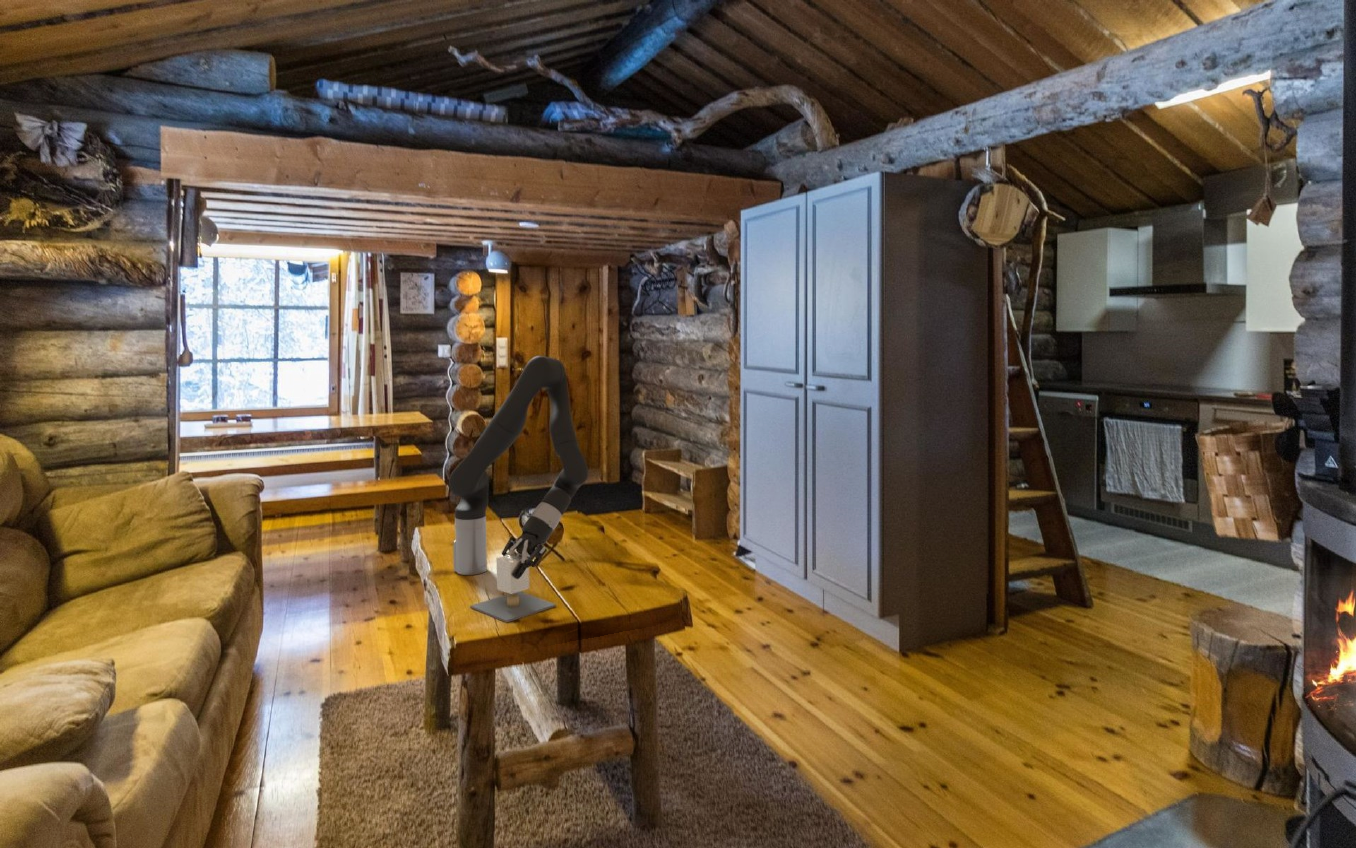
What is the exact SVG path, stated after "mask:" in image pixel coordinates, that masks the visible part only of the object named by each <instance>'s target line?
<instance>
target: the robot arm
mask: <svg viewBox="0 0 1356 848" xmlns="http://www.w3.org/2000/svg"><path fill="white" fill-rule="evenodd" d="M565 368H566V367H565V365H564V363H562V362H561V360H559V359H556V358H553V357H550V356H544V355H536V356H534V357H532V358H531V359H530V360H529V361H528V362H527V364H525V366H524V368H523V370H522V372H521V373H520V376H519V377H518V378H517V381H516V383H515V385H514V386H513V388H512V389H511V391H510V392H509V394H508V396H507V397H506V398H505V400H504V401H503V403H502V405H501V406H500V407H499V409H498V410H497V411H496V412H495V414H494V415H493V417H492V418H491V420H490V421H489V422H488V424H487V426H486V427H485V428H484V431H482V432H481V434H480V435H479V437H478V438H477V441H476V442H475V444H474V445H473V447H472V448H471V449H470V451H469V452H468V453H467V455H465V457H464V458H463V459H462V460H461V462H460V463H459V464H458V465H457V466H456V467H455V468H454V470H453V471H452V472H451V474H450V476H449V480H448V486H449V490H450V491H451V493H452V494H453V495H454V496H457V497H460V500H459V503H458V504H457V506H456V507H455V509H454V530H455V533H454V534H455V535H454V536H455V540H453V542H452V550H453V552H452V553H453V572H456V574H459V575H464V576H474V575H480V574H483V573H485V572H487V570H488V554H487V552H488V549H487V545H488V544H487V509H488V505H489V487H490V486H489V483H490V482H489V475H488V472H487V470H488V469H489V467H490V466H491V465H492V464H493V463H494V461H496V460H497V459H498V458H500V457H501V456H503V454H504V453H505V452H506V451H507V450H508V449H510V447H511V446H512V445H513V444H514V443H515V441H516V440H517V438H518V437H519V436H520V434H521V433H522V431H523V430H524V428H525V426H526V421H527V417H528V410H529V408H530V404H531V403H532V401H533V400H534V398H535V397H536V396H537V394H538V393H539V391H541V390H542V389H545V390H546V392H547V395H548V398H549V402H550V419H549V434H550V439H551V442H552V446H553V450H554V453H555V455H556V456H557V457H558V458H559V459H560V462H561V465H562V470H560V473H559V474H558V475H557V477H556V478H555V481H554V482H553V484H552V486H551V488H550V489H549V490H548V491H547V492H546V494H545V496H544V497H543V498H542V500H541V502H540V503H539V504H538V505H537V506H536V507H535V508H534V510H533V511H532V513H531V514H530V516H529V517H528V518H527V520H526V522H525V523H524V524H523V526H522V528H521V531H522V533H521V535H520V536H518V537H514V536H513V535H510V537H509V538H508V541H507V542H506V544H505V546H504V548H503V550H502V551H501V555H502V557H503V556H507V555H512V554H519V555H522V556H523V557H522V560H521V563H520V564H519V565H518V567H517V568H516V570H515V571H514V573H513V576H514V577H515V578H516V579H519V578H520V577H521V576H522V575H523V573H524V571H525V570H526V568H529V569H530V567H532V568H534V567H536V565H537V564H538V563H539V561H540V560H541V559H542V558H543V556H544V555H545V554H546V553H547V552H548V549H547V548H546V547H545V546H544V545H545V544H546V543H547V541H548V540H549V538H550V537H551V535H552V534H553V532H554V531H555V529H556V528H557V526H558V525H559V523H560V520H561V519H562V517H563V515H564V514H565V512H566V511H567V509H568V508H569V505H570V504H571V501H572V498H574V495H575V494H576V493H577V492H578V490H579V489H580V488H581V486H582V485H584V484H585V482H586V481H587V480H588V477H589V468H588V464H587V461H586V459H585V456H584V454H583V452H582V451H581V449H580V447H579V446H580V445H579V442H578V437H577V435H576V430H575V428H574V427H575V426H574V423H573V418H572V415H571V414H572V413H571V406H570V398H569V397H570V396H569V390H568V389H569V388H568V379H567V378H568V377H567V372H566V369H565ZM527 558H528V559H527ZM526 559H527V560H526Z"/></svg>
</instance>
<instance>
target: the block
mask: <svg viewBox="0 0 1356 848" xmlns="http://www.w3.org/2000/svg"><path fill="white" fill-rule="evenodd" d="M522 557H523V556H522V555H519V554H512V555H507V556H503V555H502V556H499V557H496V561H495V562H496V582H497V583H496V587H497V589H496V590H499V591H501V592H504V593H507V594H513V593H516V592H519V591H521V592H523V591H525V590H526V591H527V590H528V589H530V567H529V568H526V570H525V571H524V573H523V575H522V576H521V577H520V578H519V579H516V578H515V577H514V576H513V573H514V571H515V570H516V568H517V567H518V565H519V564H520V563H521V560H522ZM527 559H528V558H527ZM527 559H526V560H527Z"/></svg>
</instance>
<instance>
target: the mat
mask: <svg viewBox="0 0 1356 848" xmlns="http://www.w3.org/2000/svg"><path fill="white" fill-rule="evenodd" d="M555 607H557V604H556V603H554V602H551V601H548V600H545V599H542V598H539V597H537V596H535V595H531V594H530V593H529V594H528V593H526V592H523V591H519V592H516V593H513V594H509V593H507V594H505V595H501V596H498V597H495V598H492V599H489V600H484V601H482V602H478V603H474V604H472V605H470V609H473V610H475V611H478V612H480V613H482V614H484V615H486V616H489V617H492V618H495V619H496V620H499V621H501V622H504V623H507V624H508V623H509V622H513V621H516V620H519V619H522V618H525V617H528V616H531V615H534V614H537V613H540V612H542V611H545V610H549V609H552V608H555Z"/></svg>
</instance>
